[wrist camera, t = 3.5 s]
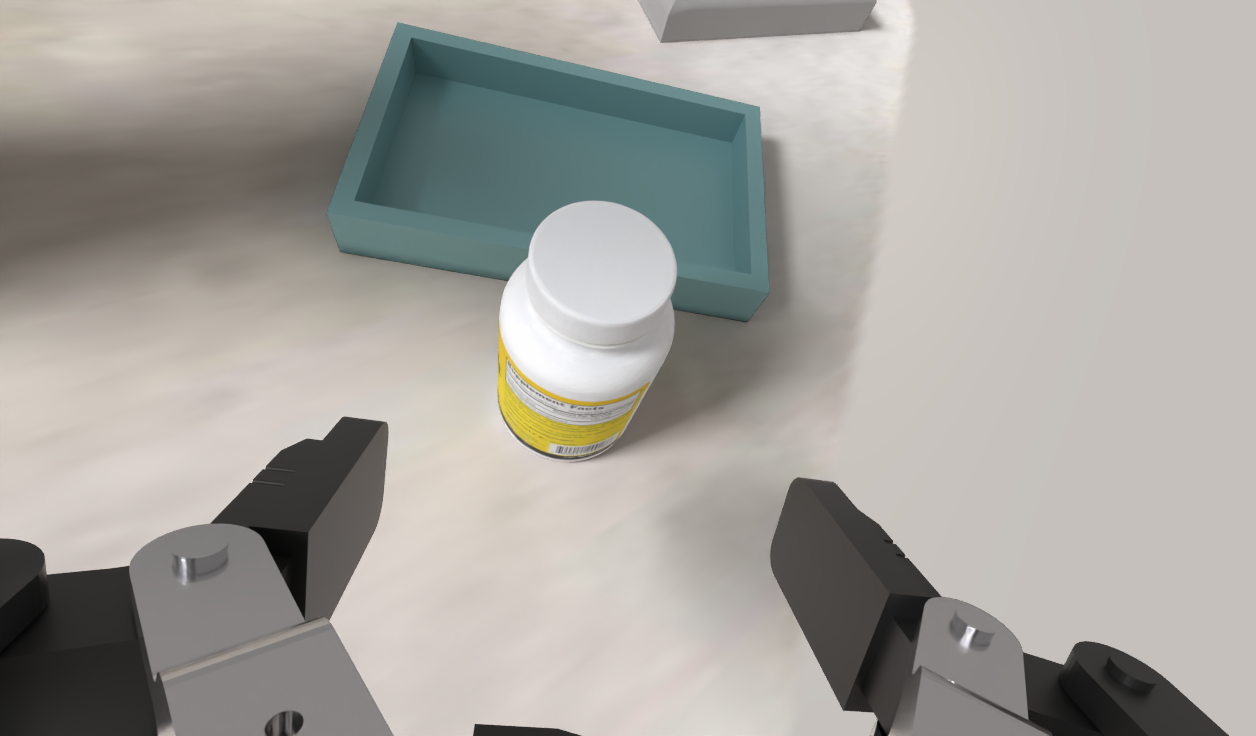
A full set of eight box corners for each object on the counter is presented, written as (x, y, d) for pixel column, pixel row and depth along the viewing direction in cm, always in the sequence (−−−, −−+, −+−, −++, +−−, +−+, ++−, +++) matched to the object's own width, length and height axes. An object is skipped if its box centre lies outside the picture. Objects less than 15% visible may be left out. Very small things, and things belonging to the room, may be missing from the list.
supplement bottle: (551, 319, 26) (585, 148, 17) (653, 392, 25) (741, 254, 17) (466, 409, 23) (456, 262, 15) (578, 494, 23) (636, 392, 14)
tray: (340, 251, 25) (326, 212, 23) (403, 68, 30) (397, 22, 28) (746, 321, 28) (769, 292, 26) (741, 143, 33) (759, 107, 31)
